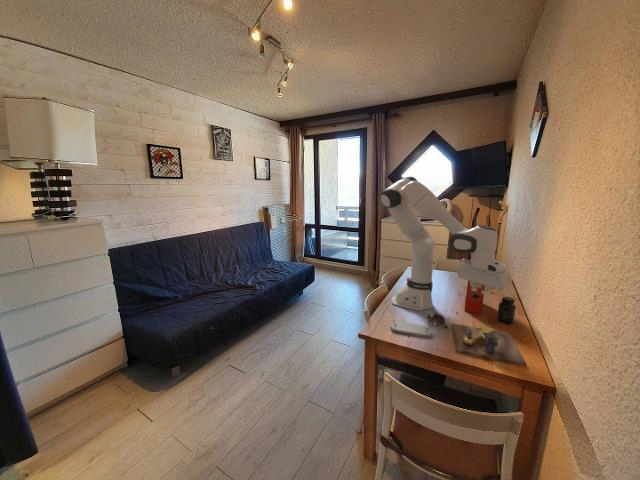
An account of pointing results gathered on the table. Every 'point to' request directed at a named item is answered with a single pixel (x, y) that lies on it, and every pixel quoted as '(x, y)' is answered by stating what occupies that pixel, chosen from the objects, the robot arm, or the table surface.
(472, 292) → the file binder
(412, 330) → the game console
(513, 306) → the supplement bottle
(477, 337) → the brass link
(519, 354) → the walnut base plate
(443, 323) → the eagle figurine
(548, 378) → the table surface
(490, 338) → the keeper hook
